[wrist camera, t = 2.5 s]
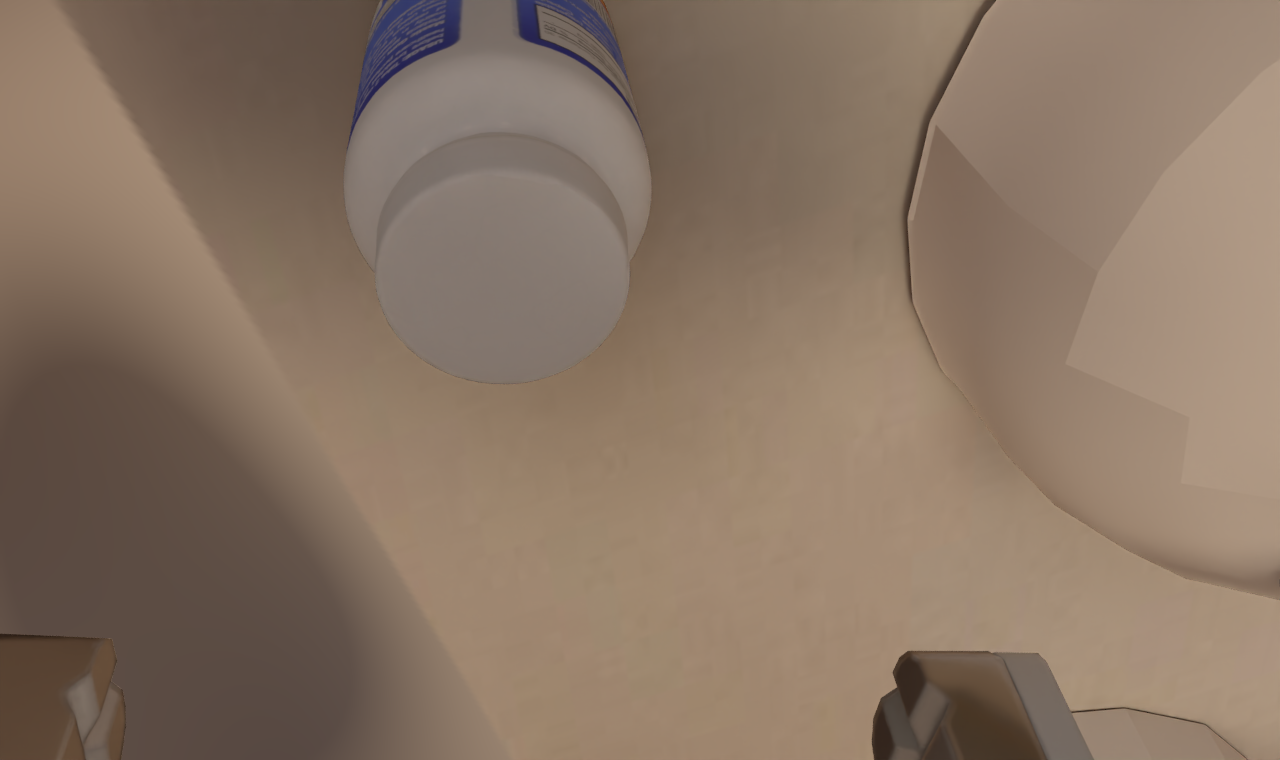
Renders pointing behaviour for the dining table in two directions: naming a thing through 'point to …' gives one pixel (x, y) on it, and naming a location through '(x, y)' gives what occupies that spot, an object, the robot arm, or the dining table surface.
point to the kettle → (1118, 267)
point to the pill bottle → (497, 181)
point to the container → (1149, 737)
